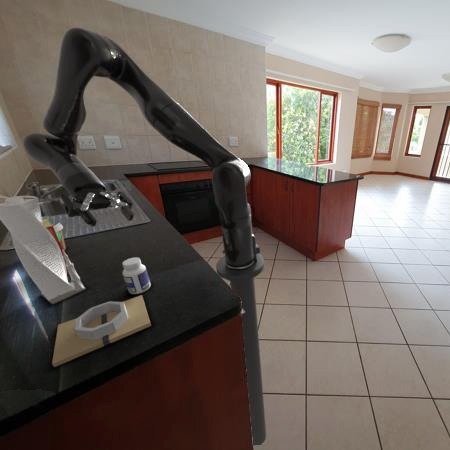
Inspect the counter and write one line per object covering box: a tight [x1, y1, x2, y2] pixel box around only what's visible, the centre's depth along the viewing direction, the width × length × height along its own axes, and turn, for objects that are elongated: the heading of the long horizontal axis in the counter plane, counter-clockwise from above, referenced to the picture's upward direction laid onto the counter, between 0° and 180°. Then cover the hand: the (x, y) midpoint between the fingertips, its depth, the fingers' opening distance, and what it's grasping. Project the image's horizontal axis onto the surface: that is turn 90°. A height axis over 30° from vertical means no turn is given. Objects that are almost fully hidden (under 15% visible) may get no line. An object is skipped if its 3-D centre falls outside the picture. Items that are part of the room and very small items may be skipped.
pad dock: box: [51, 294, 152, 368], centre depth 53 cm, size 16×12×4 cm
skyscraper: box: [0, 195, 87, 305], centre depth 58 cm, size 8×8×28 cm
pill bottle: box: [121, 257, 152, 295], centre depth 64 cm, size 5×5×9 cm
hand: (114, 220), depth 61 cm, fingers open, 8 cm apart
